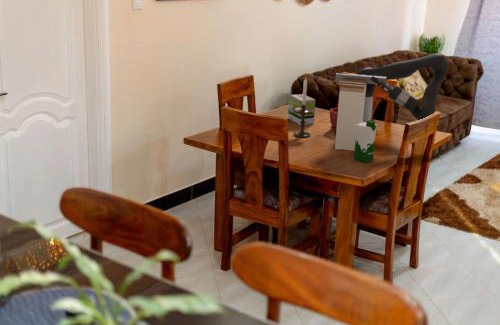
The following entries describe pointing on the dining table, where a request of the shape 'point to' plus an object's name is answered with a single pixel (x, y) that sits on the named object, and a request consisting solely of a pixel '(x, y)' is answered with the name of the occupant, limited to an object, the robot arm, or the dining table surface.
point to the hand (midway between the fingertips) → (371, 77)
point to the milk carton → (365, 141)
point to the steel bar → (358, 77)
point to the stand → (349, 112)
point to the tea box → (296, 102)
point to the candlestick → (303, 113)
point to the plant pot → (334, 120)
